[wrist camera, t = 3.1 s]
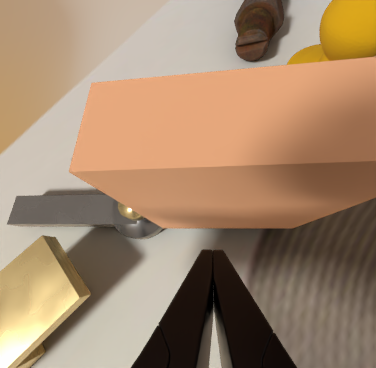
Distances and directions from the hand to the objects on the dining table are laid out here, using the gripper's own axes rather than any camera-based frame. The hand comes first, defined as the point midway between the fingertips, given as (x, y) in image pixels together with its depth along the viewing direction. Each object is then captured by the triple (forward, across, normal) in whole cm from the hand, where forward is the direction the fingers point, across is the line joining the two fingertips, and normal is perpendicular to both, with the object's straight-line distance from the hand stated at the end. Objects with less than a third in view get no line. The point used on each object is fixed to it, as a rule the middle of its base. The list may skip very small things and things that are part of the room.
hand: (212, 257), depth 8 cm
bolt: (+24, -6, -13) cm, 29 cm away
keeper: (+2, +13, +8) cm, 15 cm away
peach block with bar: (+8, +6, +3) cm, 10 cm away
